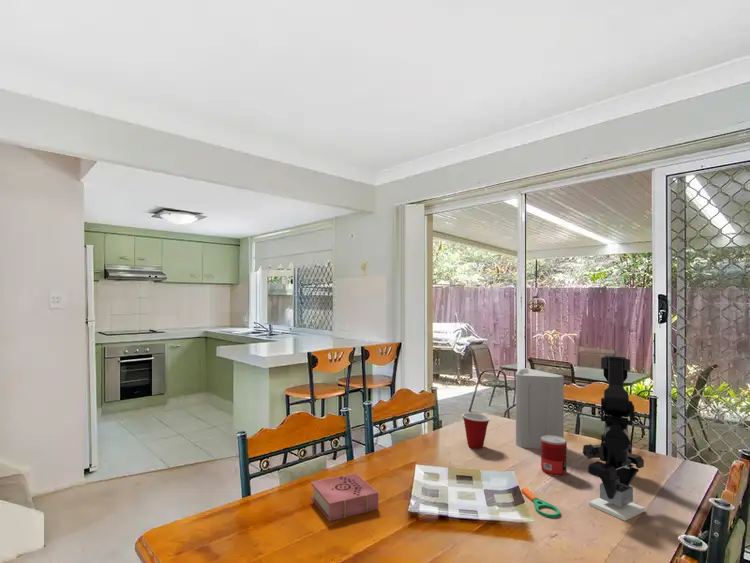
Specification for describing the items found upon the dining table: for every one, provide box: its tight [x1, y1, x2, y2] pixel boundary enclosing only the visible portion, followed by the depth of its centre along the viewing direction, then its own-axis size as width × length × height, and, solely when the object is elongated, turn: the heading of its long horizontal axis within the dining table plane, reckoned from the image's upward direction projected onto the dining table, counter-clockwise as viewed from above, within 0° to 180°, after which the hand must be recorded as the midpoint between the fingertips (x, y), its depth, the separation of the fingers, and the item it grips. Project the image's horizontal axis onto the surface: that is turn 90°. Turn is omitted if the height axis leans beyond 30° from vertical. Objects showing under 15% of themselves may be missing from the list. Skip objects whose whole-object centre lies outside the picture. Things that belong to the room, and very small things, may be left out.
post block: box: [588, 496, 645, 522], centre depth 123 cm, size 10×10×5 cm
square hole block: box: [599, 482, 634, 507], centre depth 123 cm, size 6×6×4 cm
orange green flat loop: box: [521, 487, 561, 519], centre depth 125 cm, size 15×6×2 cm, turn 12°
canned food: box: [540, 435, 568, 477], centre depth 148 cm, size 8×8×11 cm
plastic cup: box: [461, 412, 491, 450], centre depth 171 cm, size 11×11×12 cm
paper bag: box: [515, 367, 565, 450], centre depth 176 cm, size 19×15×28 cm
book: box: [310, 472, 379, 522], centre depth 124 cm, size 14×15×5 cm
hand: (616, 495), depth 123 cm, fingers open, 6 cm apart
